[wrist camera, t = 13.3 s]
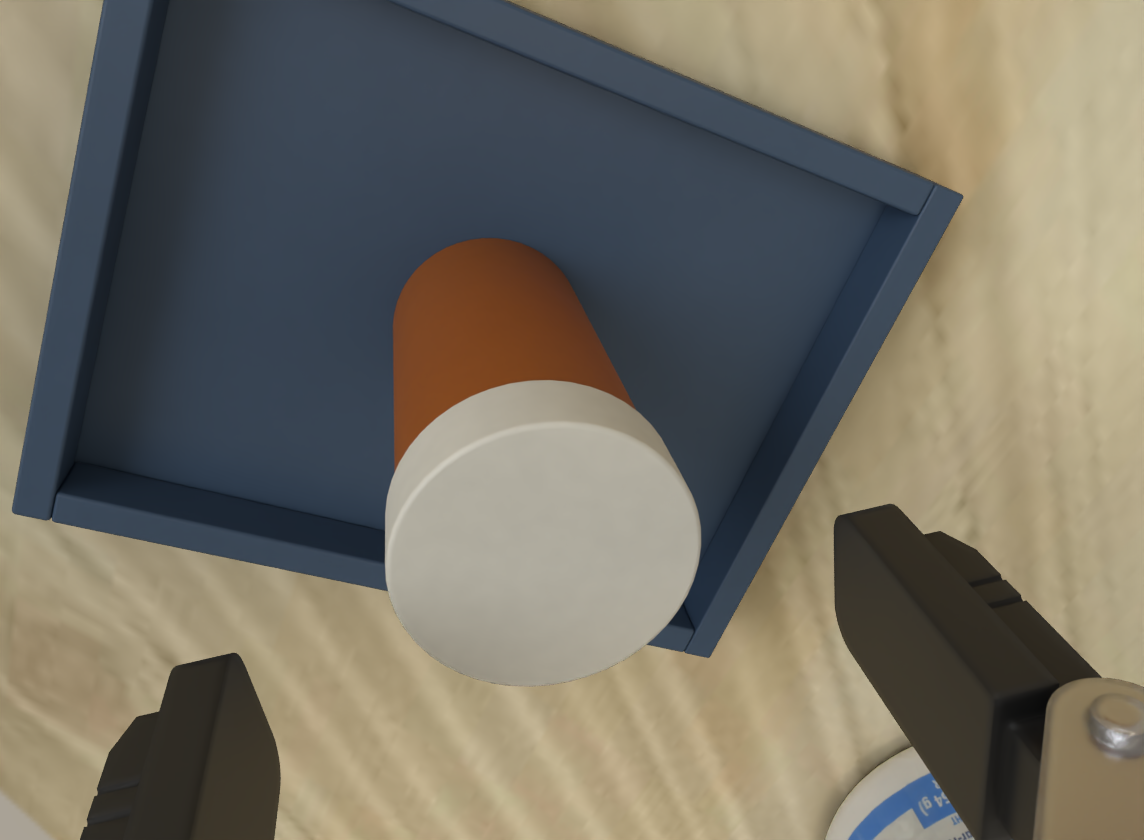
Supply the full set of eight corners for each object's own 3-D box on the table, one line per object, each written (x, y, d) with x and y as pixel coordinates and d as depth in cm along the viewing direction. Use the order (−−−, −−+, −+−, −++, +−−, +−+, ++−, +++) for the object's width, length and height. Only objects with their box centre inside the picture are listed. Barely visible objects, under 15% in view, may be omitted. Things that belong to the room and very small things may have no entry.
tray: (40, 467, 22) (9, 515, 21) (157, -148, 17) (131, -159, 16) (688, 611, 28) (709, 658, 26) (919, 175, 23) (965, 195, 21)
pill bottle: (361, 388, 22) (344, 659, 14) (422, 201, 21) (446, 383, 12) (544, 439, 24) (629, 710, 15) (616, 268, 22) (755, 470, 14)
